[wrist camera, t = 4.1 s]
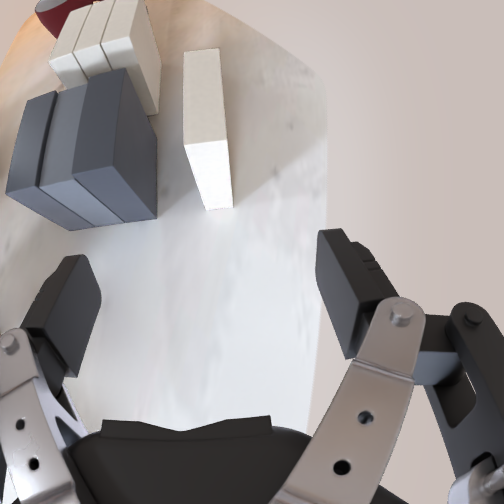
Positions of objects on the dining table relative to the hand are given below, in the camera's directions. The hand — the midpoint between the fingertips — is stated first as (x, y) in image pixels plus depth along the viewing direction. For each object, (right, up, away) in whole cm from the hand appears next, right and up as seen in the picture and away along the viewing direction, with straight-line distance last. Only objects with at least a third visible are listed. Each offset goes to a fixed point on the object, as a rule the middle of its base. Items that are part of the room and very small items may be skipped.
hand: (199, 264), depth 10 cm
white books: (-13, +19, +22) cm, 32 cm away
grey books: (-13, +7, +19) cm, 24 cm away
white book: (-2, +9, +20) cm, 22 cm away
